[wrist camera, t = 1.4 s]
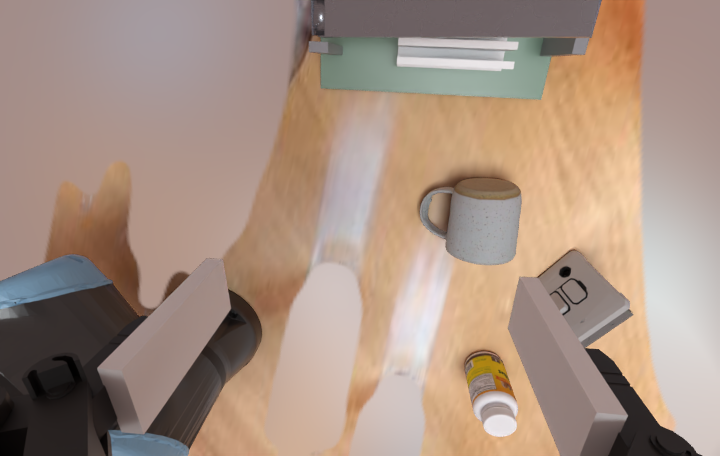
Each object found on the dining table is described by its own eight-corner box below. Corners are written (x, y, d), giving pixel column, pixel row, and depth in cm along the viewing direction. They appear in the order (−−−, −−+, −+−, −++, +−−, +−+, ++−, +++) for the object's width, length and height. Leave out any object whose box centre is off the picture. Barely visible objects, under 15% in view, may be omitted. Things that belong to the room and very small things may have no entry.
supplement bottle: (507, 372, 54) (529, 437, 44) (470, 381, 55) (484, 445, 46) (496, 344, 52) (517, 406, 42) (458, 354, 53) (470, 415, 44)
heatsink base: (322, 87, 40) (301, 93, 32) (322, -46, 35) (297, -81, 27) (537, 98, 38) (576, 108, 30) (570, -40, 33) (626, -76, 25)
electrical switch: (573, 246, 44) (618, 293, 36) (599, 267, 46) (649, 318, 38) (515, 294, 48) (544, 347, 40) (541, 312, 49) (574, 367, 41)
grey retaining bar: (320, 38, 32) (307, 36, 30) (320, -3, 30) (307, -6, 29) (592, 38, 21) (588, 36, 20) (609, -24, 20) (607, -31, 18)
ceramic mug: (513, 173, 42) (534, 195, 35) (505, 237, 45) (523, 269, 38) (420, 174, 43) (422, 195, 36) (419, 236, 46) (420, 267, 39)
